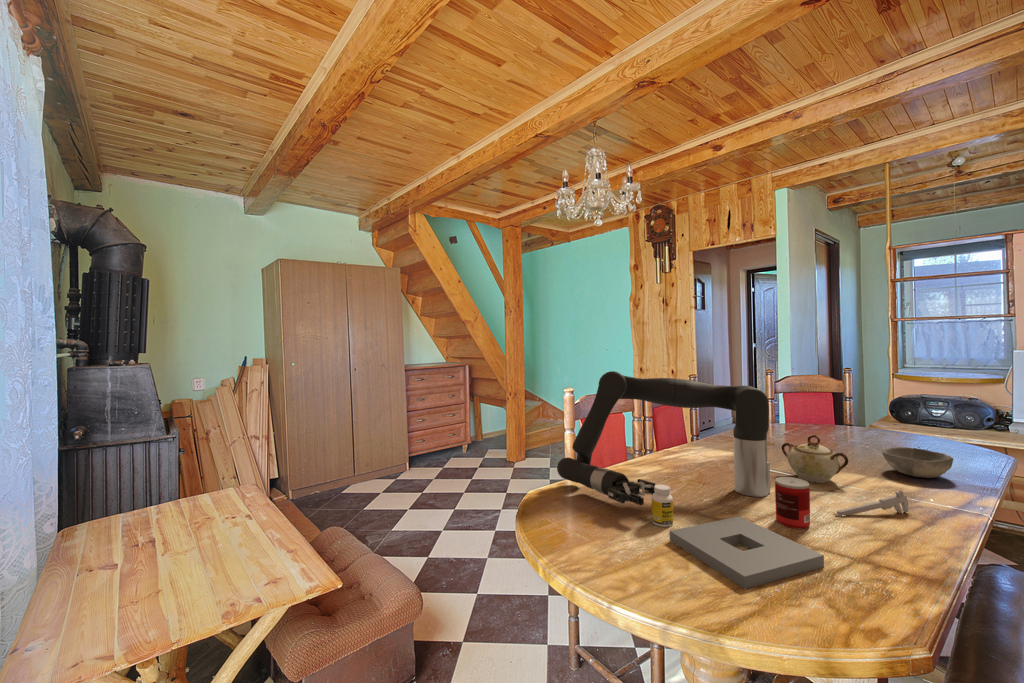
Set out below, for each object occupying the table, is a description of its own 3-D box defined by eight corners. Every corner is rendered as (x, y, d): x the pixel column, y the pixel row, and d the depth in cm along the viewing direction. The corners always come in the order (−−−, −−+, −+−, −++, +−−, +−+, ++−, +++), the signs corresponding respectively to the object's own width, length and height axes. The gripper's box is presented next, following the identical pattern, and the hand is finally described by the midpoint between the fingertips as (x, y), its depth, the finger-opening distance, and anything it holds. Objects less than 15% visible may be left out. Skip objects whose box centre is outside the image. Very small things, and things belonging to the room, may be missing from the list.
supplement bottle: (663, 529, 113) (662, 491, 113) (647, 521, 118) (646, 485, 118) (677, 524, 116) (677, 487, 116) (662, 517, 120) (661, 482, 120)
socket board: (739, 525, 114) (739, 516, 114) (824, 566, 93) (823, 555, 93) (669, 541, 107) (669, 530, 107) (745, 589, 86) (744, 576, 86)
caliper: (904, 512, 120) (904, 490, 120) (908, 514, 119) (908, 491, 119) (832, 516, 119) (832, 493, 119) (835, 517, 118) (835, 494, 118)
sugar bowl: (857, 481, 144) (856, 436, 144) (839, 492, 136) (838, 443, 136) (791, 468, 161) (790, 427, 160) (772, 476, 152) (771, 433, 152)
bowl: (880, 465, 161) (879, 443, 161) (946, 472, 151) (946, 449, 151) (885, 478, 147) (884, 454, 147) (959, 487, 137) (958, 462, 137)
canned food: (805, 518, 117) (804, 477, 117) (814, 531, 110) (813, 487, 110) (772, 515, 120) (771, 475, 120) (779, 527, 112) (779, 485, 112)
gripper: (591, 475, 129) (635, 489, 115) (624, 465, 137) (669, 478, 123) (592, 500, 129) (636, 518, 115) (625, 489, 137) (669, 505, 123)
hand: (653, 497), depth 119 cm, fingers open, 8 cm apart
